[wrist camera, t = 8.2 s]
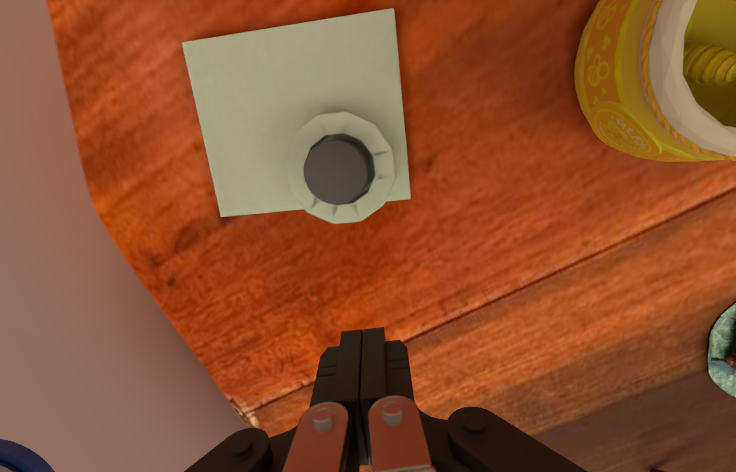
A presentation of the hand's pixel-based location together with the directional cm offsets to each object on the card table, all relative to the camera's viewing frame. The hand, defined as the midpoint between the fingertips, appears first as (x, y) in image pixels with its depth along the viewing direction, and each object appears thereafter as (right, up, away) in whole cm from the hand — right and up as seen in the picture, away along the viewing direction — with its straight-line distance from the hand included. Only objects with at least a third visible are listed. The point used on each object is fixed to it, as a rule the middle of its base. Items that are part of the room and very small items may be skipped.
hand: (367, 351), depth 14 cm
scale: (-4, +11, +12) cm, 17 cm away
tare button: (-2, +8, +10) cm, 13 cm away
